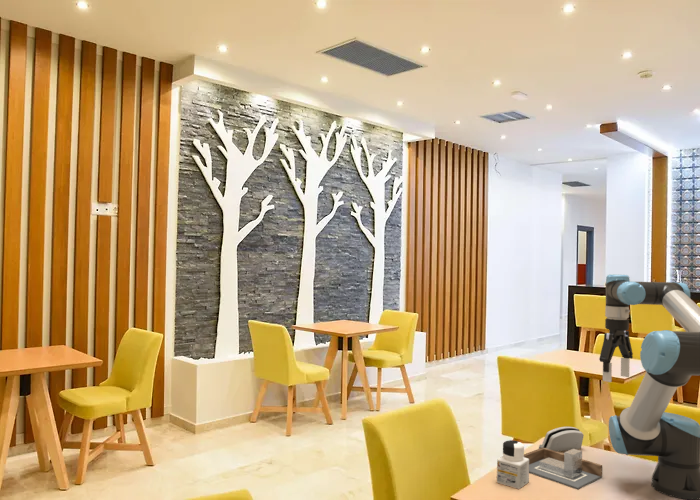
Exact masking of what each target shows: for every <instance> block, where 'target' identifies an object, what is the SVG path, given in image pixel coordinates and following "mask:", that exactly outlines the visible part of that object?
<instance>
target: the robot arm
mask: <svg viewBox="0 0 700 500" xmlns="http://www.w3.org/2000/svg"><path fill="white" fill-rule="evenodd" d="M605 277H606V278H605V311H604V313H605V315H604V316H605V317H606V318H605V319H604V320H605V321H604V322H605V323H604V324H605V325H604V328H605V329H607V330H609V332H605V333H604V336H603V343H602V346H601V351H600V355H599V358H598V360H599V362H601V363H602V382H607V383H612V381H613V380H612V379H613V378H612V373H613V370H612V366H613V365H612V364H613V363H612V362H611V361H612V358H613V356H614V352H615V351H616V348H617V347H618V350H619V352H620V354H621V358H620V377H624V378H630V359H633V358H634V357H633V355H634V353H633V349H632V344H631V338H630V331H629V328H630V320H629V317H630V312H631V310H630V306H635V305H652V306H653V305H654V306H657V305H658V306H662V307H664V308H665V310H666V311H667V312H668V313H669V314H670V315H671V317H672V318H674V320H675V321H676V322H677V323H678V324H679V325H680V326H681V327H682V328H683V329H684V330H683V331H676V330H675V331H674V330H669V329H668V330H667V329H664V330H653V331H651V332H649V333H647V334H646V336H645V337H644V339H642V343H641V347H640V349H641V351H640V354H639V357H640V362H641V366H642V368H643V369H644V371H645V374H644V376H643V377H642V380H641V382H640V384H639V387H638V389H637V391H636V393H635V395H634V397H633V400H632V401H631V404H630V406H629V407H626V408H624V409H623V410H622V411H621V413H620V414H619V415H616V414H615V415H611V416H610V417H609V418H608V434H609V439H610V443H611V447H612V448H613V450H614V451H615V452H616V453H617V454H621V455H626V456H629V455H630V456H648V457H649V456H650V457H657V459H658V460H657V464H656V466H655V469H654V471H653V473H652V476H651V486H652V488H653V489H654V490H655V491H657V492H660V493H662V494H664V495H666V496H670V497H674V498H678V499H683V500H700V424H699V422H698V421H696V420H695V419H692V418H690V417H688V416H684V415H681V414H676V413H672V412H667V411H666V409H667V408H668V406H669V403H670V402H671V400H672V398H673V396H674V395H675V393H676V391H677V389H678V388H680V387H683V386H685V385H686V384H687V383H688V382H689V381H690V379H691V377H692V376H700V306H699V305H698V304H696V302H695V301H694V300H693V299H691V289H690V287H689V286H688V284H687V283H685V282H676V281H670V282H669V281H665V282H664V281H663V282H662V281H631V279H630V276H629V275H628V274H607V275H606V276H605ZM665 411H666V412H665Z"/></svg>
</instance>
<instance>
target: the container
mask: <svg viewBox="0 0 700 500" xmlns="http://www.w3.org/2000/svg"><path fill="white" fill-rule="evenodd" d="M524 454H525V445H524V443H522V442H520V441H517V440H514V439H513V440H511V439H509V440H506V441H504V442H502V456H500V457H499V458H497V460H496V461H497V462H496V482H497V484H500V485H504V486H507V487H511V488H514V489H518V490H521V488H523V487H524V486H525V485H527V484H528V483H529V481H530V473H529V459H528V458H524Z"/></svg>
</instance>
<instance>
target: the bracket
mask: <svg viewBox="0 0 700 500" xmlns="http://www.w3.org/2000/svg"><path fill="white" fill-rule="evenodd" d="M563 452H564V453H563V454H564V462H562V461H559V460H556V459H553V458H546V459H544V460H541V461H540V465H539V468H540V469H543V470H546V471H549V472H552V473H555V474H558V475H561V476H564V477H567V478H570V479H574V478H577V477H579V476H581V475H582V459H583V450H580V449H571V450H567V451H563Z"/></svg>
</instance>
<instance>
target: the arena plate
mask: <svg viewBox="0 0 700 500" xmlns="http://www.w3.org/2000/svg"><path fill="white" fill-rule="evenodd" d="M542 460H544V459H542ZM540 461H541V460H539V461H537V462H534V463H532V464H529V474H531V475H533V476H538V477H540V478H542V479H546V480H548V481H552V482H555V483H557V484H560V485H563V486H566V487H569V488H572V489H575V490H580V489H582V488H584V487H586V486H589V485H590V484H592V483H594V482H597V481H598V480H600V479H603V475H602V476H601V477H600V476H597V475H594V474H591V473H588V472H584V471H582V475H581V476H579V477H577V478H574V479H570V478H567V477H564V476H561V475H558V474H555V473H552V472H549V471H546V470H543V469H540V468H539V465H540Z"/></svg>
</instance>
